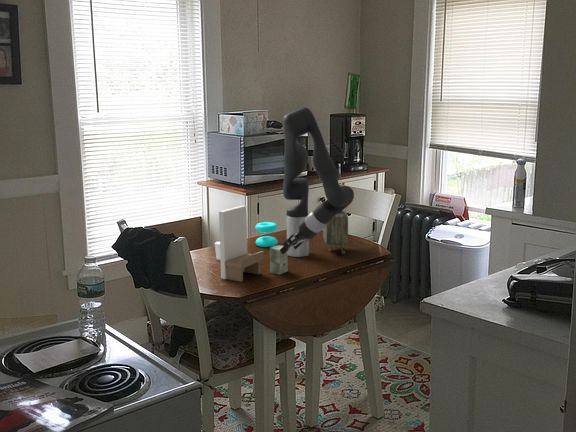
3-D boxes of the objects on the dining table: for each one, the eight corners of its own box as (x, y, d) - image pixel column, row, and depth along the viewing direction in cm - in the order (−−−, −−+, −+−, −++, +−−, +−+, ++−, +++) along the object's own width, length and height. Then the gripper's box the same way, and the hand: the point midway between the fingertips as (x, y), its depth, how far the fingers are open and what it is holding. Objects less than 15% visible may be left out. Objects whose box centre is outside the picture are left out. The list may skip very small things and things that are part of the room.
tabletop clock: (347, 255, 271) (348, 198, 266) (326, 256, 270) (327, 198, 265) (342, 246, 285) (343, 192, 280) (322, 247, 284) (323, 192, 279)
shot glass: (224, 261, 263) (224, 245, 262) (211, 259, 267) (211, 243, 265) (234, 257, 269) (234, 241, 267) (221, 255, 272) (221, 239, 271)
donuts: (271, 220, 294) (281, 224, 285) (271, 241, 296) (281, 246, 287) (251, 223, 289) (261, 227, 281) (252, 244, 291) (262, 249, 283)
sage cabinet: (289, 271, 249) (289, 246, 246) (281, 275, 244) (281, 250, 242) (278, 269, 252) (277, 244, 250) (269, 272, 247) (269, 248, 245)
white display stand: (264, 273, 246) (263, 208, 241) (241, 282, 235) (240, 214, 229) (243, 269, 251) (242, 205, 246) (221, 278, 240) (218, 211, 235)
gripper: (317, 213, 242) (292, 238, 250) (296, 219, 230) (271, 246, 239) (328, 228, 240) (303, 253, 249) (309, 235, 228) (283, 261, 237)
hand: (287, 249), depth 244 cm, fingers open, 8 cm apart
